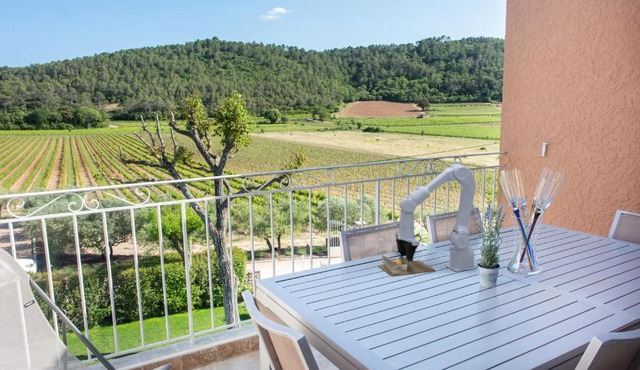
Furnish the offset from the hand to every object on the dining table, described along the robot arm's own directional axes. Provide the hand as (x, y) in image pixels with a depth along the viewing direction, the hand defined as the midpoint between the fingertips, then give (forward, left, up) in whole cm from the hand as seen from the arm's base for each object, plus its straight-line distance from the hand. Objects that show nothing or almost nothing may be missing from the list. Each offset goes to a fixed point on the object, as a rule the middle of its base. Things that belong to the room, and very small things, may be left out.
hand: (406, 257), depth 203 cm
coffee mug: (-11, -19, -5) cm, 22 cm away
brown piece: (0, 0, -5) cm, 5 cm away
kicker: (0, 0, -3) cm, 3 cm away
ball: (+4, 0, -2) cm, 5 cm away
